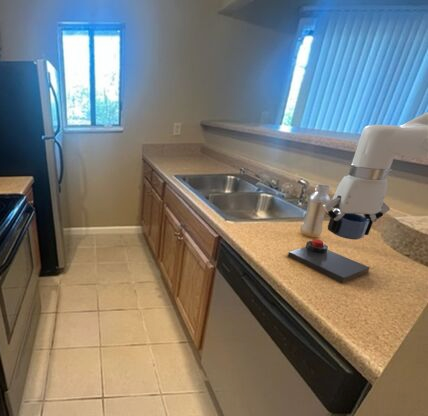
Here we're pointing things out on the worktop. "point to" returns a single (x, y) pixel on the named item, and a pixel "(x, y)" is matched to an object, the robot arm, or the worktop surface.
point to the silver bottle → (315, 212)
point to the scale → (328, 262)
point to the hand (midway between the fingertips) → (347, 231)
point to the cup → (352, 226)
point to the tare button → (317, 243)
